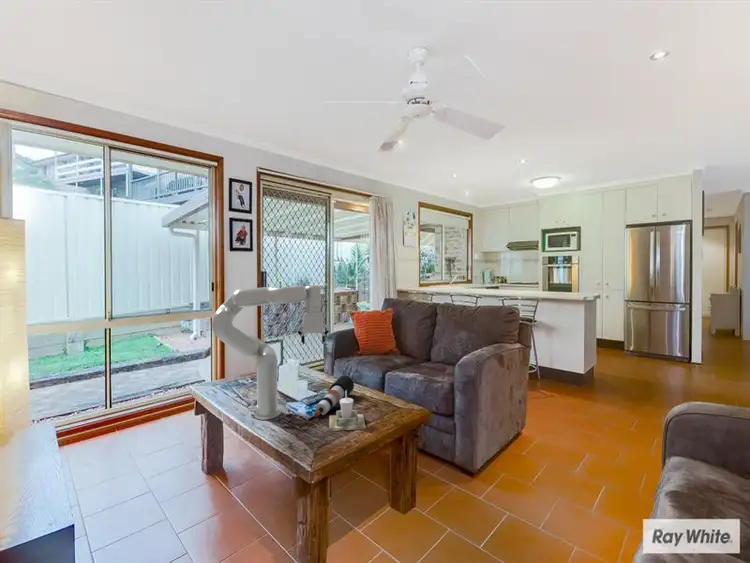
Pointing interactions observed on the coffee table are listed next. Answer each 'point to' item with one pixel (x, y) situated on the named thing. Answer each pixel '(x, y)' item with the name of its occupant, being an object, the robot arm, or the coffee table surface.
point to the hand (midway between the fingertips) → (313, 343)
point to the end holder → (346, 421)
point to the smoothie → (346, 406)
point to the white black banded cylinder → (334, 395)
